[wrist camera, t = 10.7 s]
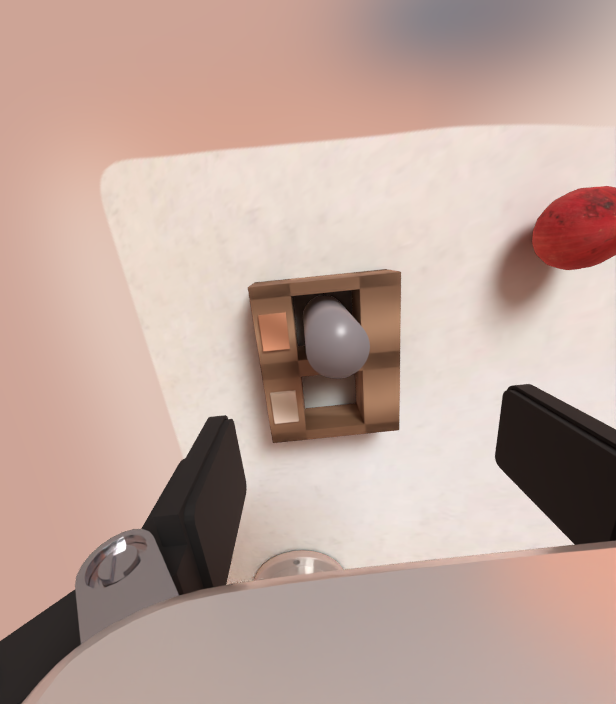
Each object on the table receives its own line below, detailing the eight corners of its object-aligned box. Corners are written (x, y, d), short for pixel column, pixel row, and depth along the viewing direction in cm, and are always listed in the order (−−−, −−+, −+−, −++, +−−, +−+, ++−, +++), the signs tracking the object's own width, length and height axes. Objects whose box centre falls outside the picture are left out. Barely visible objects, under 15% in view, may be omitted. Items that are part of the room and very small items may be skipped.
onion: (500, 220, 25) (588, 205, 17) (565, 182, 24) (687, 150, 17) (519, 279, 27) (607, 288, 19) (580, 245, 26) (697, 242, 18)
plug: (345, 334, 28) (370, 375, 18) (305, 338, 28) (309, 381, 18) (343, 293, 27) (369, 314, 17) (301, 297, 27) (302, 321, 17)
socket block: (386, 408, 31) (400, 431, 27) (275, 419, 31) (272, 445, 27) (385, 269, 26) (402, 272, 22) (255, 282, 26) (246, 287, 22)
